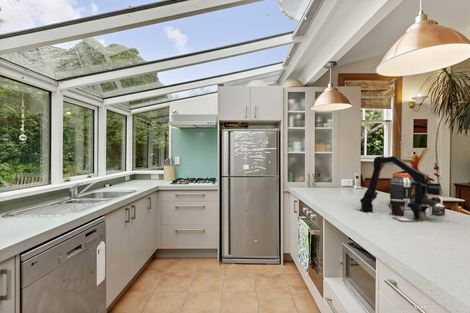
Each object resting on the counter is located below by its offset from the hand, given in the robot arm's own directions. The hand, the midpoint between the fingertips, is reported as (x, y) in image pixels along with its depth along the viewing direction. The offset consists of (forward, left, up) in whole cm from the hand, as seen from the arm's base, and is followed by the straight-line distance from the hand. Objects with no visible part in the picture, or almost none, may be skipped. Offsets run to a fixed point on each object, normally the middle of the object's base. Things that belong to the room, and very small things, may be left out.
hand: (419, 218), depth 165 cm
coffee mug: (-8, +12, -1) cm, 14 cm away
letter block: (0, 0, -1) cm, 1 cm away
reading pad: (-10, -1, -1) cm, 10 cm away
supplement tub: (+10, +35, -1) cm, 36 cm away
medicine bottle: (+19, +12, -1) cm, 23 cm away
